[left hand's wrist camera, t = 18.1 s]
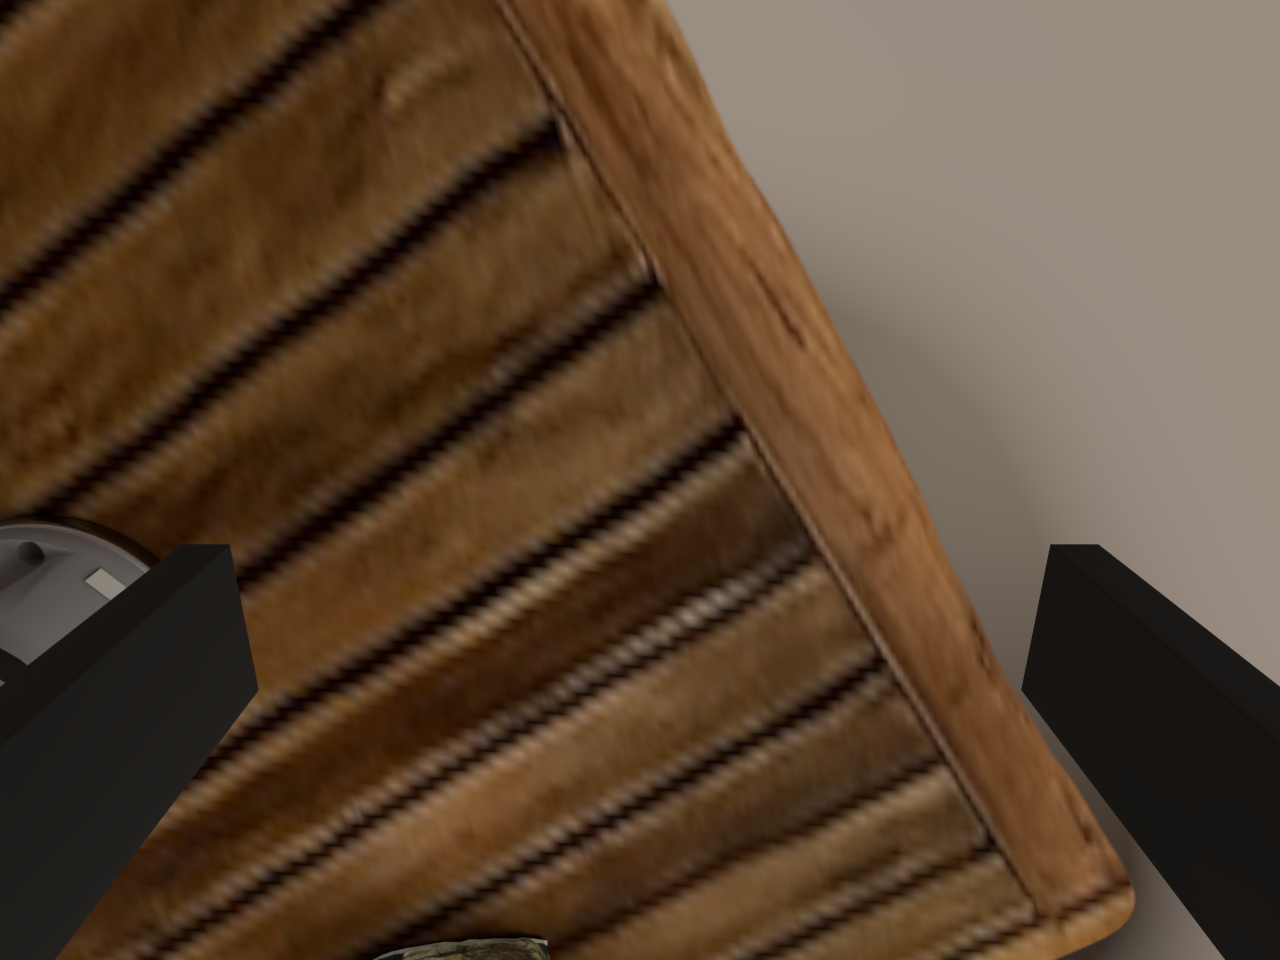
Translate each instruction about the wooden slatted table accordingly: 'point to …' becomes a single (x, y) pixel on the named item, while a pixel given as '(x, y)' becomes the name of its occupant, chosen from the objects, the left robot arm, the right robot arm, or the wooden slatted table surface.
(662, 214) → the wooden slatted table surface
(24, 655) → the left robot arm
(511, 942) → the fossil
